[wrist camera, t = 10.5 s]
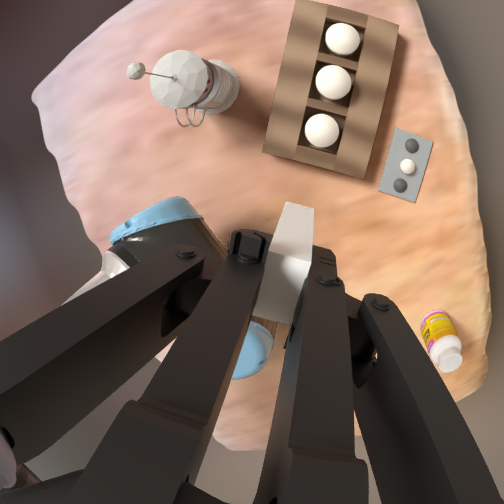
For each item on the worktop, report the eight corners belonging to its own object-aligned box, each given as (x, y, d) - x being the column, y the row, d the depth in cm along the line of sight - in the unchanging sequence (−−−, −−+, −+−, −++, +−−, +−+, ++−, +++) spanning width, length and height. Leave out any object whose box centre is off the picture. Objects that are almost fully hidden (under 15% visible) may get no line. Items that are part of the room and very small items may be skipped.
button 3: (354, 60, 41) (356, 57, 38) (322, 52, 41) (322, 48, 38) (359, 33, 39) (362, 28, 36) (328, 25, 39) (329, 19, 36)
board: (360, 175, 49) (363, 179, 46) (265, 150, 51) (262, 152, 48) (394, 30, 38) (399, 25, 35) (297, 5, 40) (296, -2, 36)
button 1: (333, 149, 47) (334, 151, 44) (302, 141, 48) (301, 142, 45) (340, 119, 45) (342, 119, 42) (309, 110, 46) (308, 110, 43)
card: (414, 202, 49) (416, 204, 48) (377, 189, 50) (379, 192, 48) (432, 141, 44) (435, 142, 43) (395, 127, 45) (397, 127, 44)
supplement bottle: (418, 312, 57) (435, 354, 45) (448, 305, 55) (469, 344, 43) (419, 337, 59) (433, 380, 48) (447, 330, 57) (465, 371, 46)
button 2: (345, 103, 43) (347, 102, 40) (312, 95, 43) (312, 93, 40) (352, 73, 41) (354, 70, 38) (319, 65, 41) (319, 61, 38)
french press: (241, 59, 45) (181, 17, 23) (237, 126, 50) (174, 135, 28) (185, 61, 47) (96, 33, 24) (182, 124, 51) (91, 137, 29)
